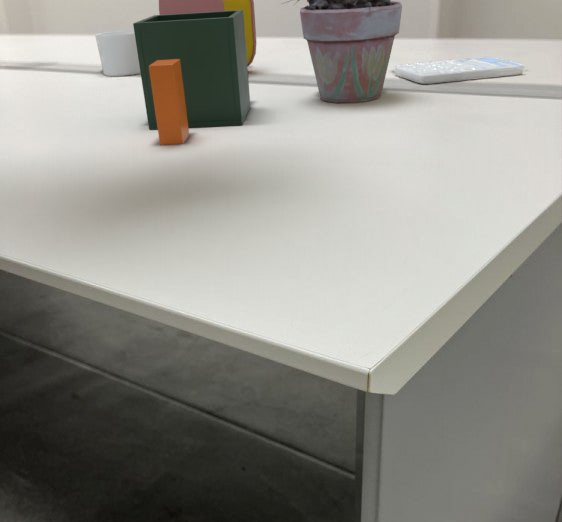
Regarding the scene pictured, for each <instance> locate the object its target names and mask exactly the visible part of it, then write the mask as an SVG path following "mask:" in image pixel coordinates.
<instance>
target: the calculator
mask: <svg viewBox="0 0 562 522" xmlns="http://www.w3.org/2000/svg"><path fill="white" fill-rule="evenodd" d="M524 70H525V64H523V63H521V62H516V61H511V60H508V59H503V58H498V57H493V56H483V57H482V56H480V57H471V58H462V59H446V60H442V59H441V60H437V61H433V60H431V61H427V62H423V61H421V62H417V63H414V62H410V63H407V64H406V63H405V64H404V63H401V64H398V65H395V66H394V74H395V76H397V77H400V78H403V79H406V80H409V81H411V82H414V83H416V84H421V85H431V84H442V83H443V84H444V83H453V82H461V81H471V80H479V79H480V80H482V79H489V78H491V79H492V78H499V77H509V76H518V75H521V74H523V73H524Z"/></svg>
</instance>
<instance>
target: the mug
mask: <svg viewBox="0 0 562 522" xmlns="http://www.w3.org/2000/svg"><path fill="white" fill-rule="evenodd" d="M95 41H96V46H97V50H98V54H99V59H100V63H101V68H102V72H103V75H104V76H107V77H124V76H135V75H141V73H140V66H139V59H138V53H137V46H136V40H135V33H134V29H124V30H112V31H111V30H110V31H103V32H99V33H95Z"/></svg>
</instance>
